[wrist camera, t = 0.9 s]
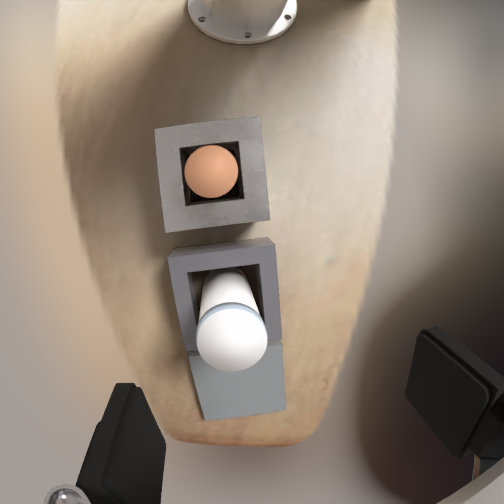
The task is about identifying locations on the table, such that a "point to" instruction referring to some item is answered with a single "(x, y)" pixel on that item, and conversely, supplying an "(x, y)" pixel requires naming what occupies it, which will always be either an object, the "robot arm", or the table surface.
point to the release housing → (249, 176)
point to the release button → (211, 171)
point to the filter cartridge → (229, 322)
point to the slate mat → (241, 386)
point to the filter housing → (223, 257)
